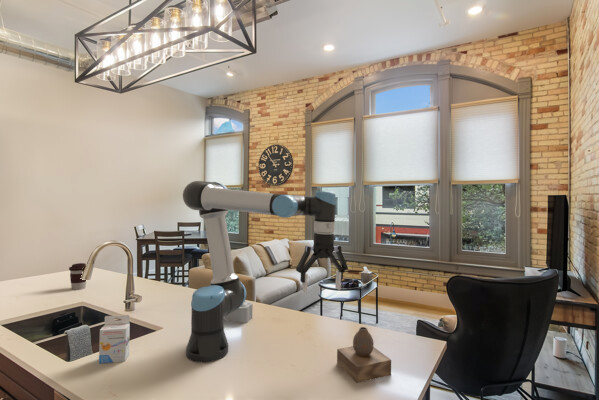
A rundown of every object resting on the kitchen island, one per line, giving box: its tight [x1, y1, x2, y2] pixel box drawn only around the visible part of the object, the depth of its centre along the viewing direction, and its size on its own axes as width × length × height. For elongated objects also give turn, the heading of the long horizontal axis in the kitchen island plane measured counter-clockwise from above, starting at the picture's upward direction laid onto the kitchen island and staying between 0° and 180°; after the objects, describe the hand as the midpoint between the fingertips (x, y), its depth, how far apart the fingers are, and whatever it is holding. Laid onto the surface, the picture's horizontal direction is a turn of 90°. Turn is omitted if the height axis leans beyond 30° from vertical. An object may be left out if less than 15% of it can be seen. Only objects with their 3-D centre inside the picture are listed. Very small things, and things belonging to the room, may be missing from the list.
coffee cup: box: [68, 262, 87, 291], centre depth 201 cm, size 10×10×15 cm
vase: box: [352, 326, 375, 357], centre depth 111 cm, size 7×7×9 cm
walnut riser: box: [336, 345, 392, 384], centre depth 110 cm, size 13×13×5 cm
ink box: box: [98, 314, 131, 364], centre depth 114 cm, size 8×5×15 cm, turn 103°
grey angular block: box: [224, 300, 254, 325], centre depth 154 cm, size 10×13×9 cm
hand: (321, 290), depth 120 cm, fingers open, 13 cm apart
